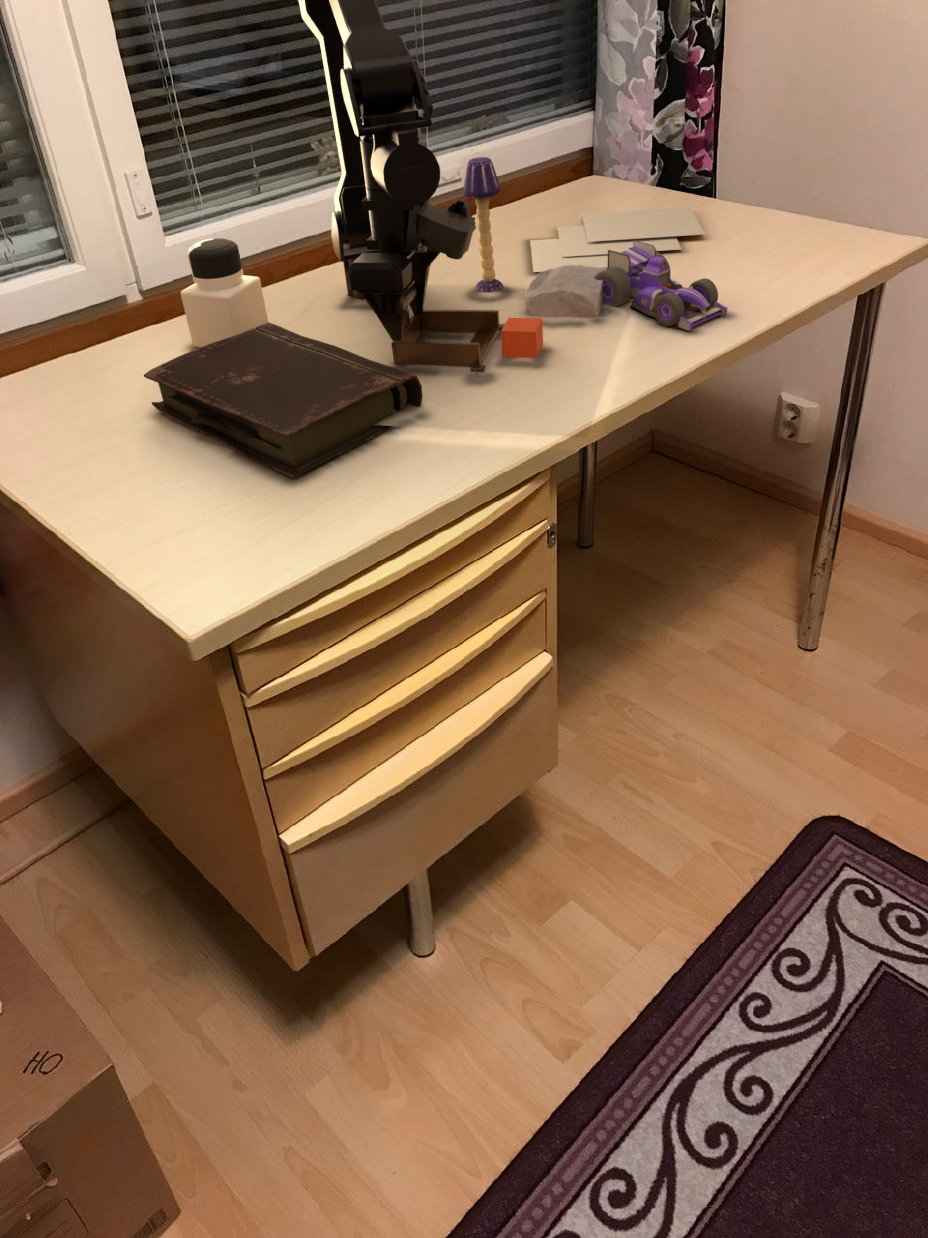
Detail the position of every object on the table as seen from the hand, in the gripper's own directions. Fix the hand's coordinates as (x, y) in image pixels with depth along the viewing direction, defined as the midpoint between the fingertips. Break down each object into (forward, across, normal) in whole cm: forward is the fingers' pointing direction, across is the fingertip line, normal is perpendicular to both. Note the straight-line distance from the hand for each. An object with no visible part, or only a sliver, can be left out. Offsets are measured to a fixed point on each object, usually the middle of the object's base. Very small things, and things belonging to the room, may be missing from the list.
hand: (407, 326), depth 116 cm
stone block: (+3, +17, -16) cm, 23 cm away
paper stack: (+3, +43, -18) cm, 47 cm away
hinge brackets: (+4, +1, -10) cm, 10 cm away
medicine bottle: (+3, +3, +25) cm, 25 cm away
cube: (0, +1, -13) cm, 13 cm away
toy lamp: (+3, +21, -4) cm, 21 cm away
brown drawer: (+4, +1, -4) cm, 6 cm away
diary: (+4, -16, +10) cm, 19 cm away
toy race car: (+4, +17, -28) cm, 32 cm away
